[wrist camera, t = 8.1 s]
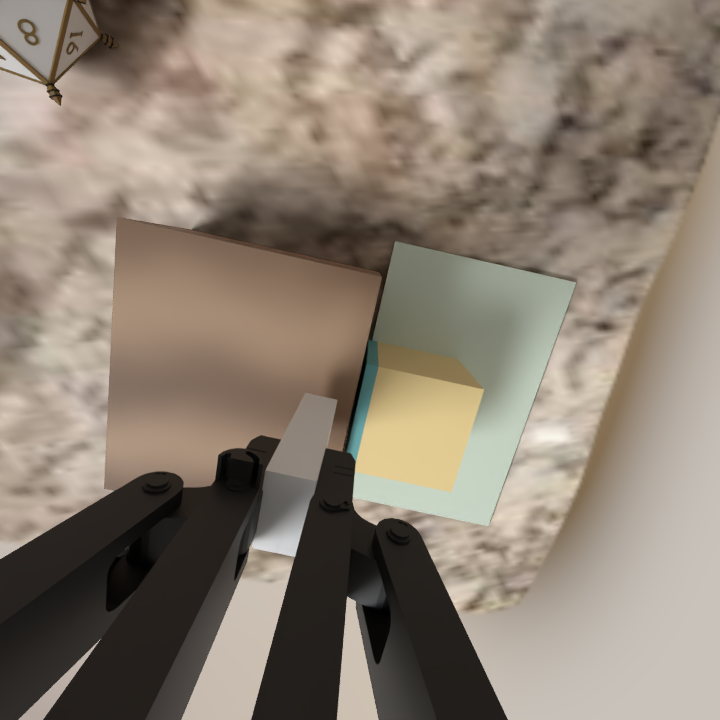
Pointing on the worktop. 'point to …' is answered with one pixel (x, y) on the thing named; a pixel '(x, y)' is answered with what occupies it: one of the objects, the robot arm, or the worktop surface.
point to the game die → (47, 38)
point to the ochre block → (412, 416)
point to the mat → (470, 362)
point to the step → (223, 347)
